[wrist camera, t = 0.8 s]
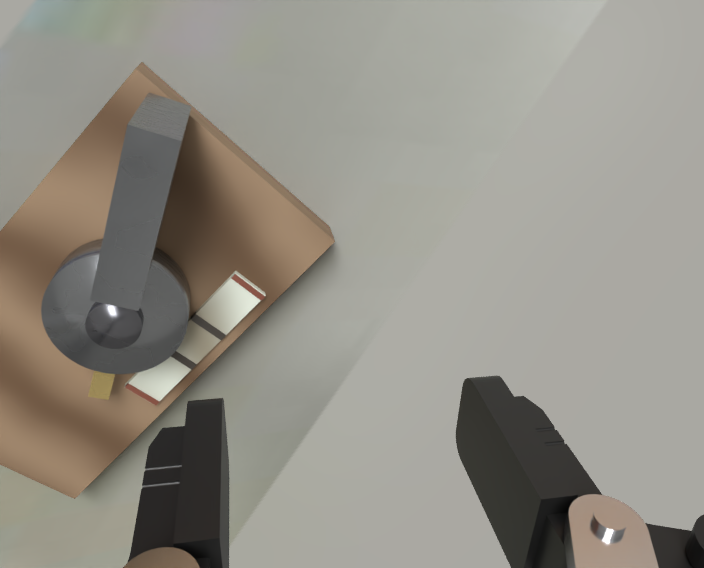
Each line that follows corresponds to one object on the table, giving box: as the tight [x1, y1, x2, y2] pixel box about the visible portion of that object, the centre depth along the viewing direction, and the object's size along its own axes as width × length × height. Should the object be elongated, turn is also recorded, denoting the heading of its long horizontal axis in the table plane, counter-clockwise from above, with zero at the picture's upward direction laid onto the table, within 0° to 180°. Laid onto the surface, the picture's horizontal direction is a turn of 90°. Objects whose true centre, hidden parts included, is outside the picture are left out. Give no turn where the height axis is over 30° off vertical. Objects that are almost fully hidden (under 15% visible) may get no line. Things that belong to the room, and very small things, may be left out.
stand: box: [0, 62, 335, 499], centre depth 31 cm, size 22×12×2 cm, turn 134°
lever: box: [41, 92, 192, 400], centre depth 26 cm, size 6×16×6 cm, turn 159°
